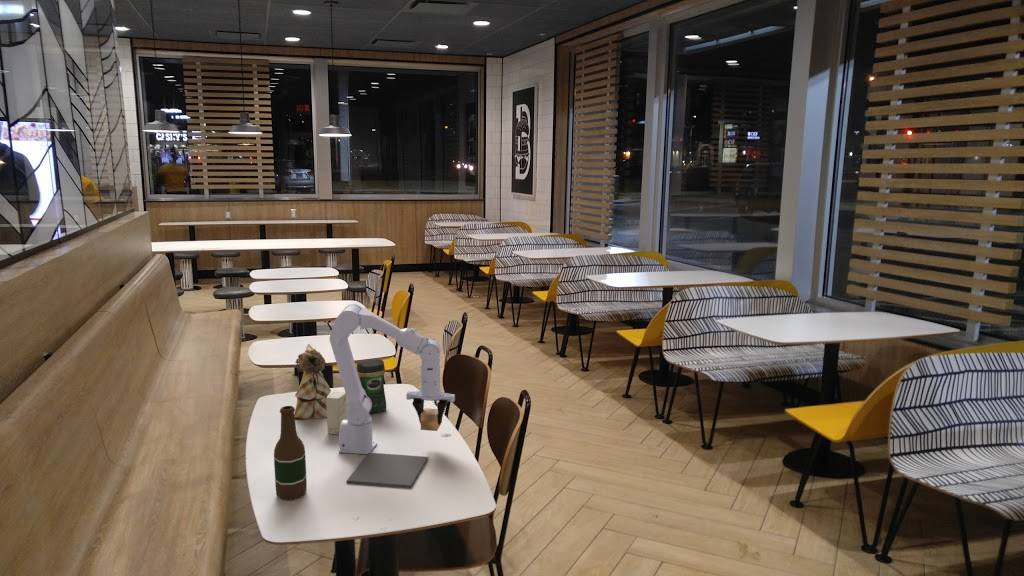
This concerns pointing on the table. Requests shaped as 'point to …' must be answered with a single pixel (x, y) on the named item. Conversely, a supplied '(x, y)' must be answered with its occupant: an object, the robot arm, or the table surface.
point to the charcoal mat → (388, 470)
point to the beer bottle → (289, 459)
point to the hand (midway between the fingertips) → (430, 422)
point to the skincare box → (336, 411)
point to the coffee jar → (373, 382)
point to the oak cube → (429, 419)
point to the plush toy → (311, 386)
